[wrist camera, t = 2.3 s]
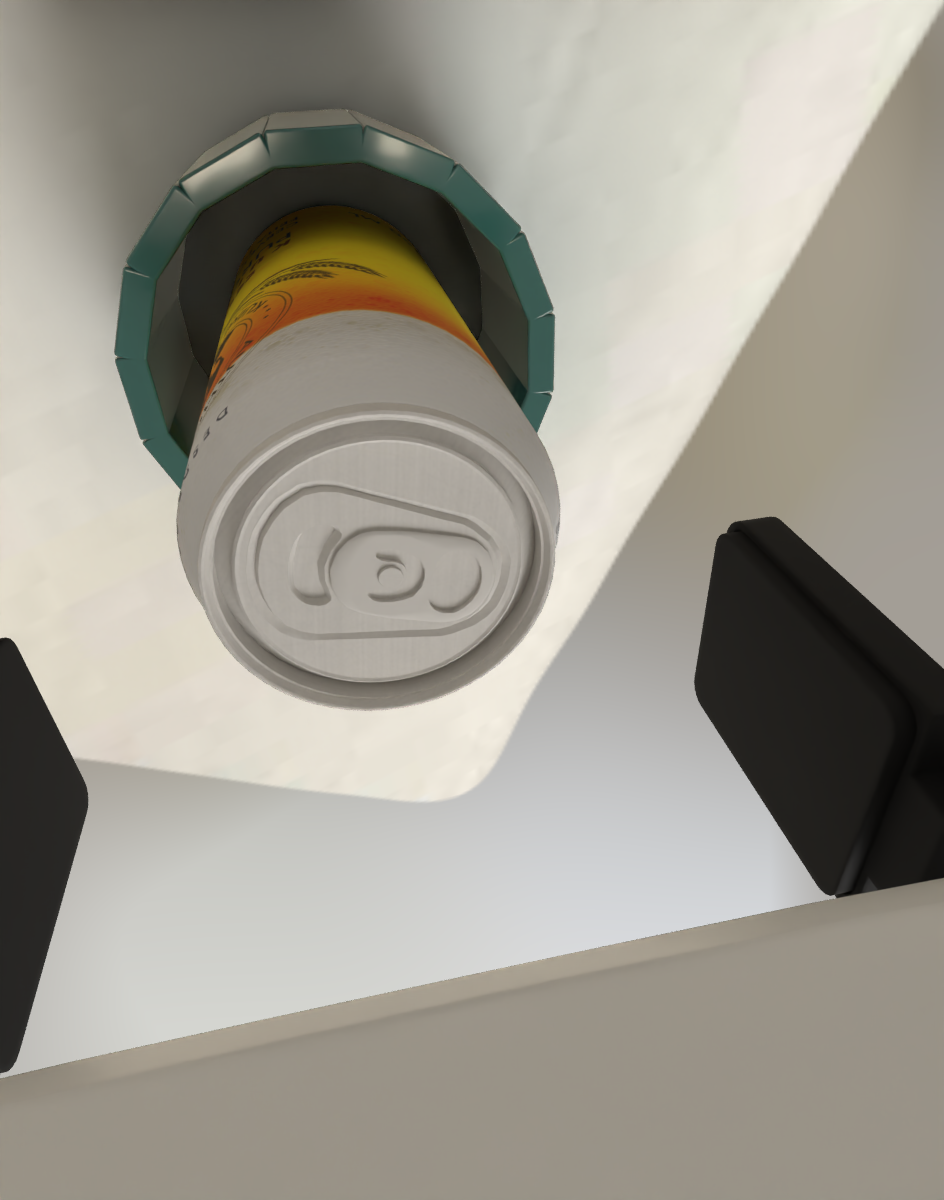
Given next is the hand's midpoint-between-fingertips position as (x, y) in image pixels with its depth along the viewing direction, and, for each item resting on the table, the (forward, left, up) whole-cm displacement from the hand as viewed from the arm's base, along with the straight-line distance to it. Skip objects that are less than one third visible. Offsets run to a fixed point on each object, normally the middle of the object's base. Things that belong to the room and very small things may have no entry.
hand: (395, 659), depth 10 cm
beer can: (0, 0, -17) cm, 17 cm away
